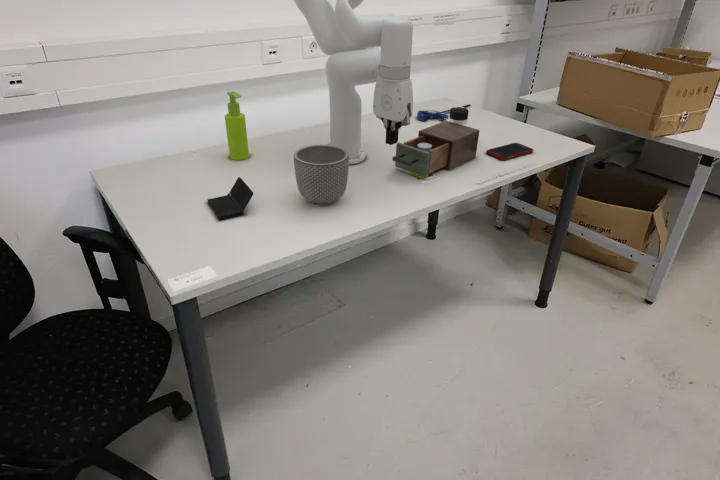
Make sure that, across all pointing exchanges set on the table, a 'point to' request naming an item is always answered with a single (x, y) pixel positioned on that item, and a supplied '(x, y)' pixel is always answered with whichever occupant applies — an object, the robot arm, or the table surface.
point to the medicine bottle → (459, 116)
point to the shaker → (424, 146)
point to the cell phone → (509, 151)
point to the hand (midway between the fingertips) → (391, 143)
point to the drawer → (422, 155)
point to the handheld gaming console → (232, 201)
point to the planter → (321, 173)
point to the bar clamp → (433, 114)
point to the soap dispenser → (236, 129)
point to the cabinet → (455, 141)
